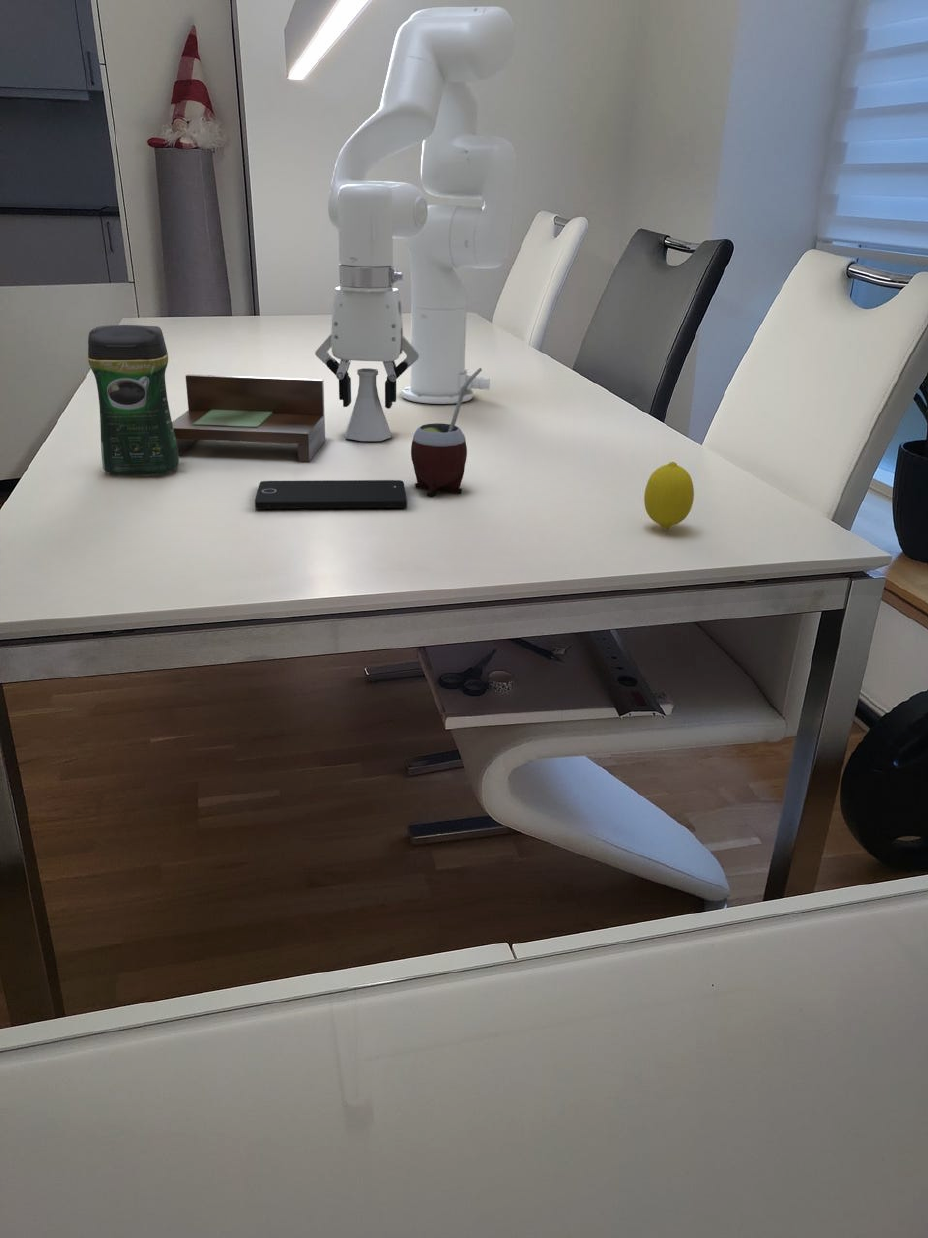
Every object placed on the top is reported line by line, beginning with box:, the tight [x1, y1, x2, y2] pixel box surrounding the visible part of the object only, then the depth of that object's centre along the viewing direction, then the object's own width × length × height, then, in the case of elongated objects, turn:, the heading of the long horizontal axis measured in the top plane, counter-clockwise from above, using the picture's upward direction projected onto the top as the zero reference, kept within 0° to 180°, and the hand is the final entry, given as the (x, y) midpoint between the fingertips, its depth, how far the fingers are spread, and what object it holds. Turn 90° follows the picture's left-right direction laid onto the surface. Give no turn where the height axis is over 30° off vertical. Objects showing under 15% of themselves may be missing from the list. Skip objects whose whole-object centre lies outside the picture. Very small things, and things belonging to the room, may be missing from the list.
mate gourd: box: [410, 367, 483, 498], centre depth 126 cm, size 8×8×15 cm
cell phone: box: [254, 479, 408, 510], centre depth 123 cm, size 9×18×1 cm, turn 96°
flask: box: [345, 367, 392, 442], centre depth 150 cm, size 7×7×10 cm
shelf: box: [172, 374, 326, 463], centre depth 143 cm, size 20×12×9 cm, turn 87°
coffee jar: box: [87, 324, 180, 477], centre depth 129 cm, size 10×8×19 cm
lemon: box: [643, 461, 695, 530], centre depth 115 cm, size 6×6×8 cm
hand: (367, 404), depth 150 cm, fingers open, 5 cm apart
